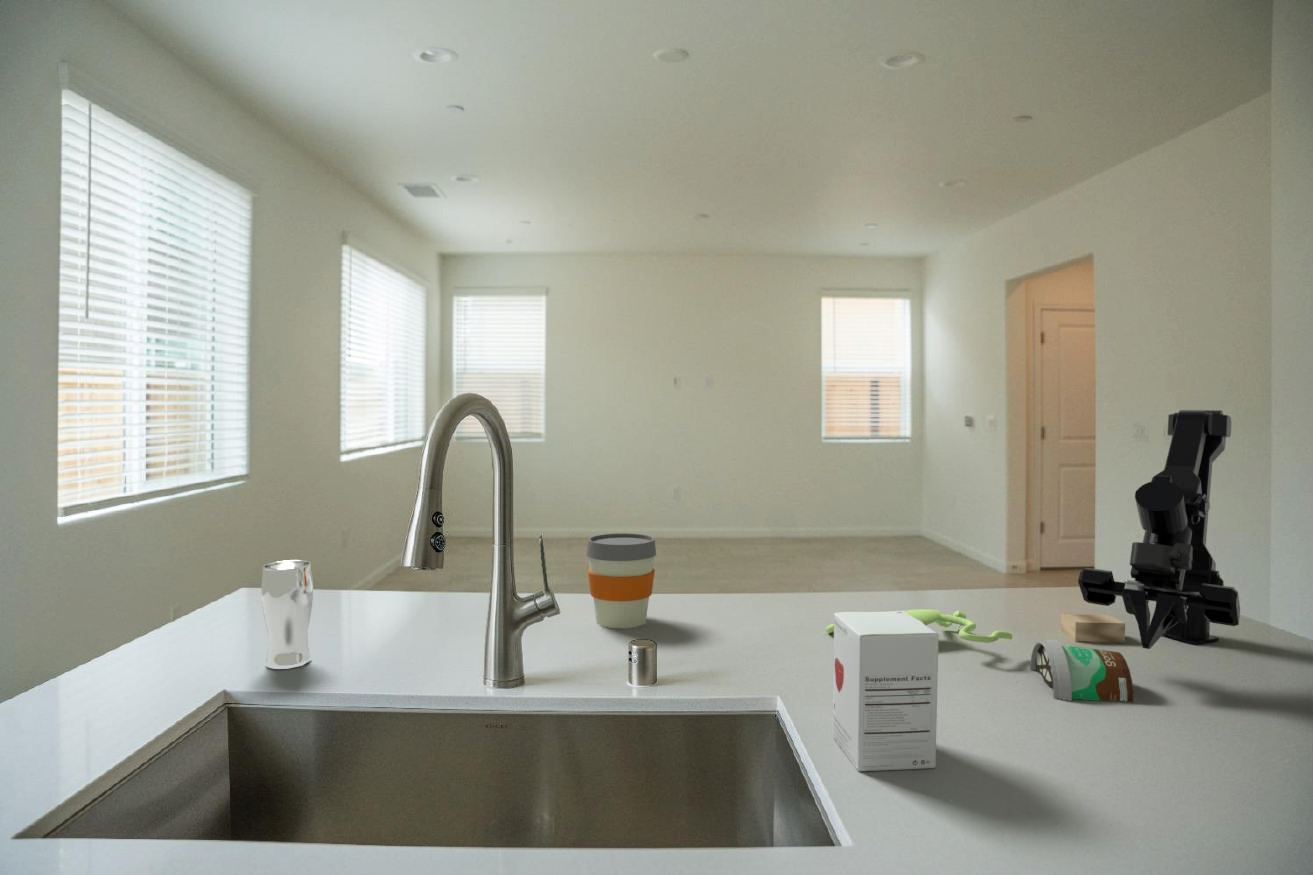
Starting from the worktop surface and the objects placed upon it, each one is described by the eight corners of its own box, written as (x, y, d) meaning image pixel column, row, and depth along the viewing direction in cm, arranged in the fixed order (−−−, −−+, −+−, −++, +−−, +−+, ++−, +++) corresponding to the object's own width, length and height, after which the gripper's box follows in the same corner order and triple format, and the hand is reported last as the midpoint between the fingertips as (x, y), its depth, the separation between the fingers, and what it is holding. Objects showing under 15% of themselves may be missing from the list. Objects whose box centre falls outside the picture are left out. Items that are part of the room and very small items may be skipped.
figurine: (1021, 668, 114) (1022, 632, 114) (842, 665, 115) (843, 628, 115) (975, 632, 133) (976, 600, 132) (821, 629, 134) (822, 597, 134)
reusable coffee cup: (572, 620, 138) (572, 538, 137) (625, 608, 146) (625, 530, 146) (616, 636, 128) (616, 547, 128) (670, 622, 137) (670, 539, 136)
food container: (1139, 659, 99) (1055, 654, 101) (1138, 706, 99) (1054, 699, 101) (1104, 631, 111) (1030, 627, 113) (1102, 673, 111) (1029, 668, 113)
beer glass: (324, 659, 116) (322, 562, 115) (285, 673, 110) (283, 571, 109) (292, 653, 119) (290, 558, 118) (252, 666, 113) (250, 566, 112)
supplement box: (830, 736, 90) (831, 610, 89) (903, 733, 90) (905, 609, 90) (856, 773, 81) (858, 633, 80) (938, 770, 81) (940, 631, 81)
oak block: (1108, 635, 131) (1108, 615, 131) (1124, 644, 126) (1125, 623, 126) (1060, 634, 131) (1061, 614, 131) (1075, 643, 126) (1075, 622, 126)
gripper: (1083, 513, 113) (1059, 601, 106) (1240, 527, 100) (1226, 628, 93) (1095, 558, 119) (1074, 644, 112) (1245, 576, 106) (1232, 675, 99)
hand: (1145, 646), depth 104 cm, fingers closed
